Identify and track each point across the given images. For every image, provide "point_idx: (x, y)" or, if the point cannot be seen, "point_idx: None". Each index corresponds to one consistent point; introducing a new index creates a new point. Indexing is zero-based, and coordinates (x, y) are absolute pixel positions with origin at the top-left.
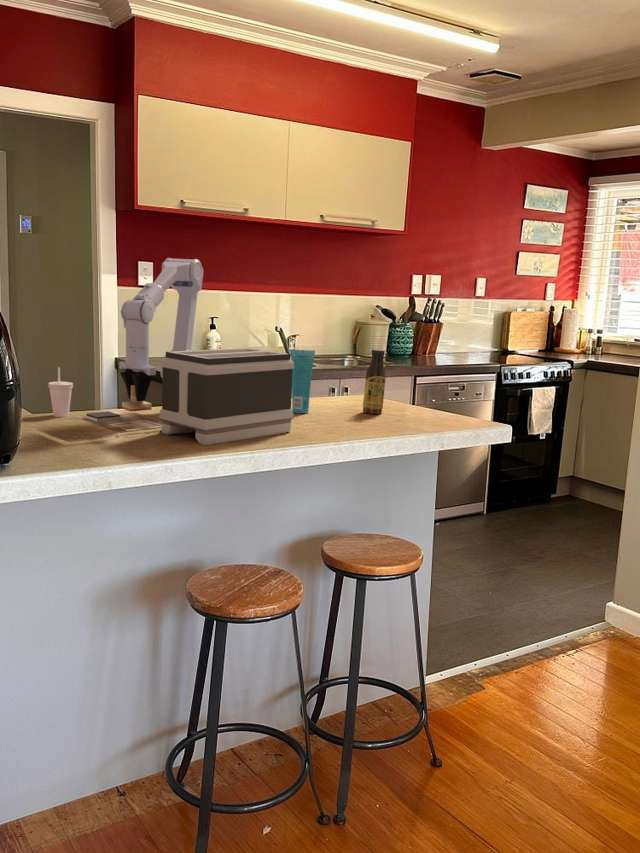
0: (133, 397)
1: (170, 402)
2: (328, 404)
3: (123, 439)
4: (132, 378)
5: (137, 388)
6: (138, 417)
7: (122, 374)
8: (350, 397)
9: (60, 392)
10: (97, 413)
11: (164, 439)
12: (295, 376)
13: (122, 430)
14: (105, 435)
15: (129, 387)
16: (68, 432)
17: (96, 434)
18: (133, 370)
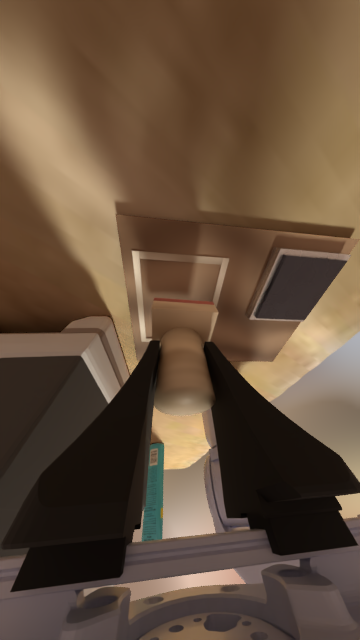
0: (173, 344)
1: (11, 381)
2: (173, 457)
3: (62, 185)
4: (233, 443)
5: (126, 383)
6: (240, 347)
7: (309, 467)
8: (185, 465)
9: None
10: (315, 285)
11: (43, 288)
12: (154, 497)
13: (144, 242)
14: (146, 171)
15: (221, 380)
16: (282, 37)
17: (176, 149)
18: (246, 543)
